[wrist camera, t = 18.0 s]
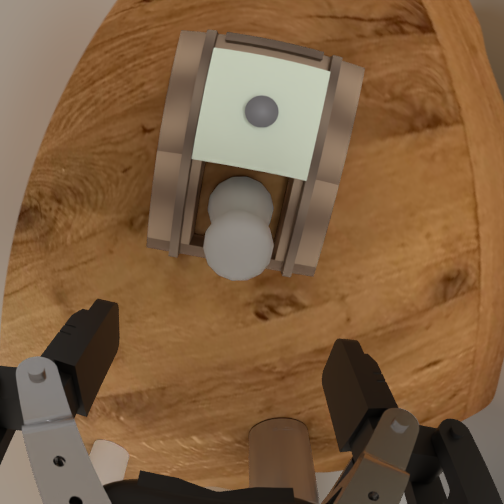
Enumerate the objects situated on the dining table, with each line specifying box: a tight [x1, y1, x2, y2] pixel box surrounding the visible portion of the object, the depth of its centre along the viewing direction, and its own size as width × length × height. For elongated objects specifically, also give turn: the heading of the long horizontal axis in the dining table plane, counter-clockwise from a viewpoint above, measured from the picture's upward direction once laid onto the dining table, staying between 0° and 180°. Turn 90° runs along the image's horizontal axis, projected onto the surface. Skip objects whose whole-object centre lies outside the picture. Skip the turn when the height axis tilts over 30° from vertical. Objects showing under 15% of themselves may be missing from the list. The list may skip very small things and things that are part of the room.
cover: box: [192, 48, 330, 181], centre depth 23 cm, size 9×9×4 cm
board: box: [147, 30, 365, 277], centre depth 27 cm, size 20×16×4 cm
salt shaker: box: [203, 177, 274, 281], centre depth 25 cm, size 6×6×13 cm
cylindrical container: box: [89, 440, 129, 486], centre depth 36 cm, size 7×7×25 cm
